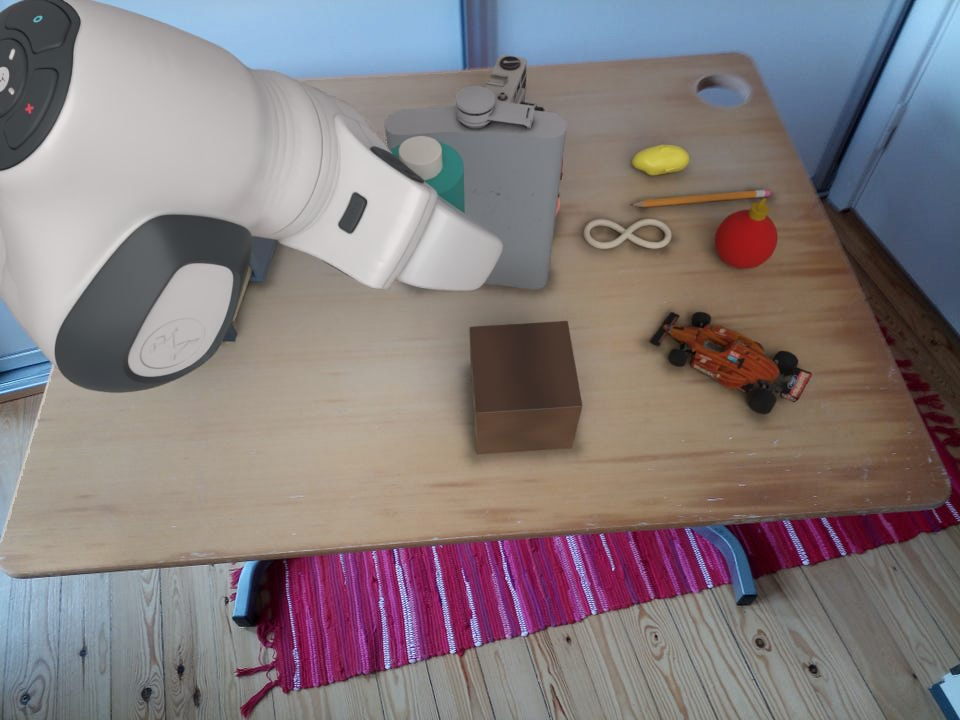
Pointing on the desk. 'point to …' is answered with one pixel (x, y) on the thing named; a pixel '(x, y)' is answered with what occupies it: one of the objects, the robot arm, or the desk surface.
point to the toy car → (734, 361)
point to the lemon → (661, 159)
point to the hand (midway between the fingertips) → (431, 204)
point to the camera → (510, 80)
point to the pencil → (702, 198)
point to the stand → (524, 387)
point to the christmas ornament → (747, 237)
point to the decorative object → (627, 233)
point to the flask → (500, 173)
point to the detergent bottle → (435, 167)
